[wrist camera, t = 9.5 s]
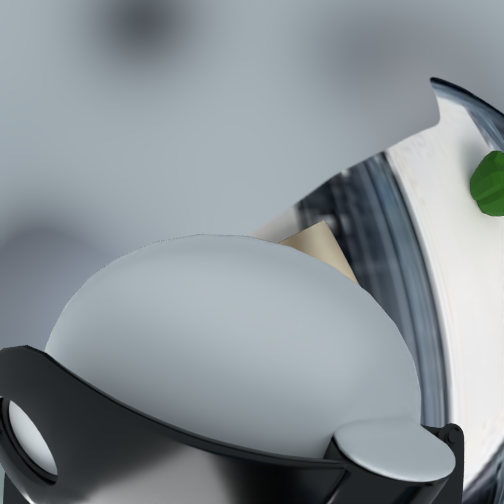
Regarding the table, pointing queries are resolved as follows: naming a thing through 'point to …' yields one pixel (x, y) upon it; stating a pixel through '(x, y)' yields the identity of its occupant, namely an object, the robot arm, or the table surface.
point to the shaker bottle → (218, 387)
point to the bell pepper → (489, 184)
